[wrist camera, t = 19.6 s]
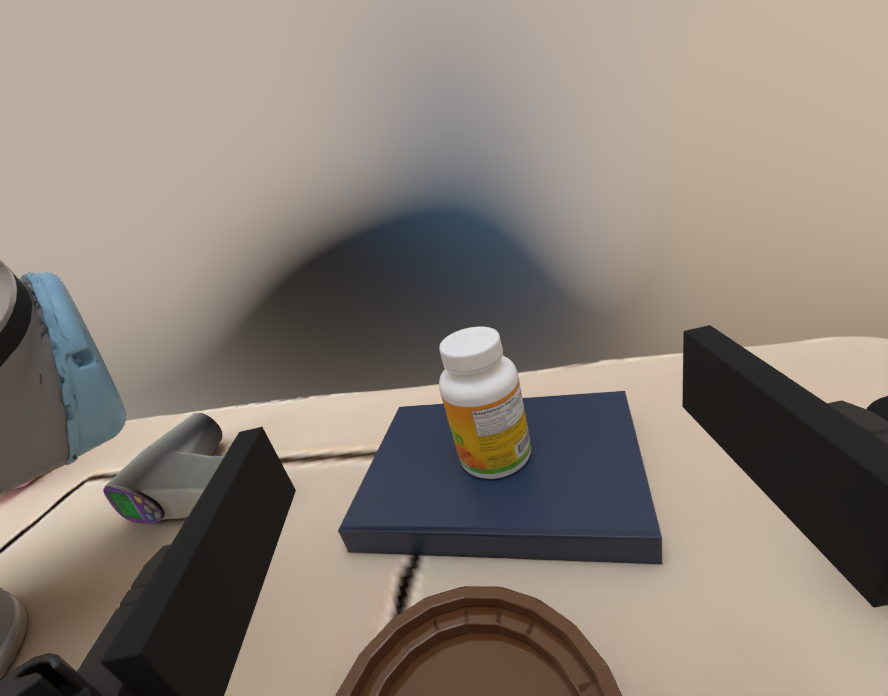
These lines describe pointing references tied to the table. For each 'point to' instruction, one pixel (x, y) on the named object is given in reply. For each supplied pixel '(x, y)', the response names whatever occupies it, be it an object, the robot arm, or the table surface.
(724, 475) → the table surface
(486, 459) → the supplement bottle
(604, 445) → the book
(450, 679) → the brown round tray
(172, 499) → the infrared thermometer
